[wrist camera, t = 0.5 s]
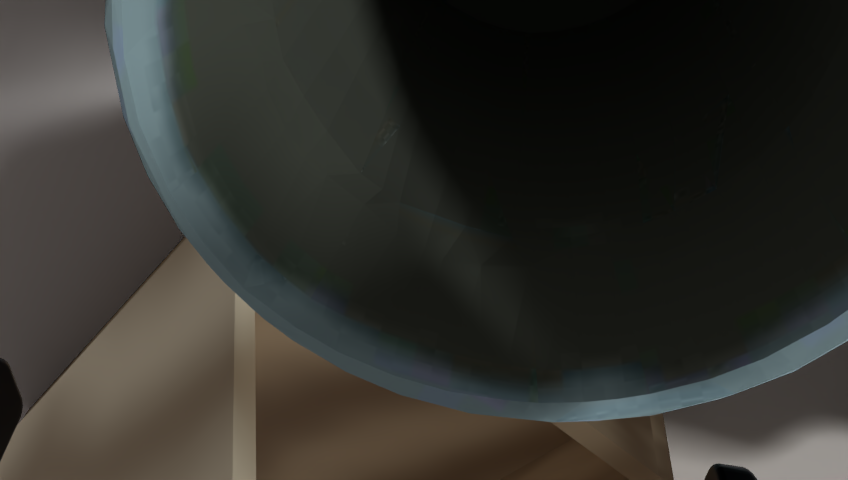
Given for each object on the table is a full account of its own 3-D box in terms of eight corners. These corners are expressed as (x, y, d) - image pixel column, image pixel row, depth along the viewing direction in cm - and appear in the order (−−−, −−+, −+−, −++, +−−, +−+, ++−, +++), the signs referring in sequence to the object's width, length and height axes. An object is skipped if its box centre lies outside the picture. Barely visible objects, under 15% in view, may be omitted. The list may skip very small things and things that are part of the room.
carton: (659, 392, 27) (674, 488, 24) (326, 575, 38) (307, 659, 35) (302, 106, 22) (262, 180, 19) (28, 409, 32) (-27, 491, 29)
